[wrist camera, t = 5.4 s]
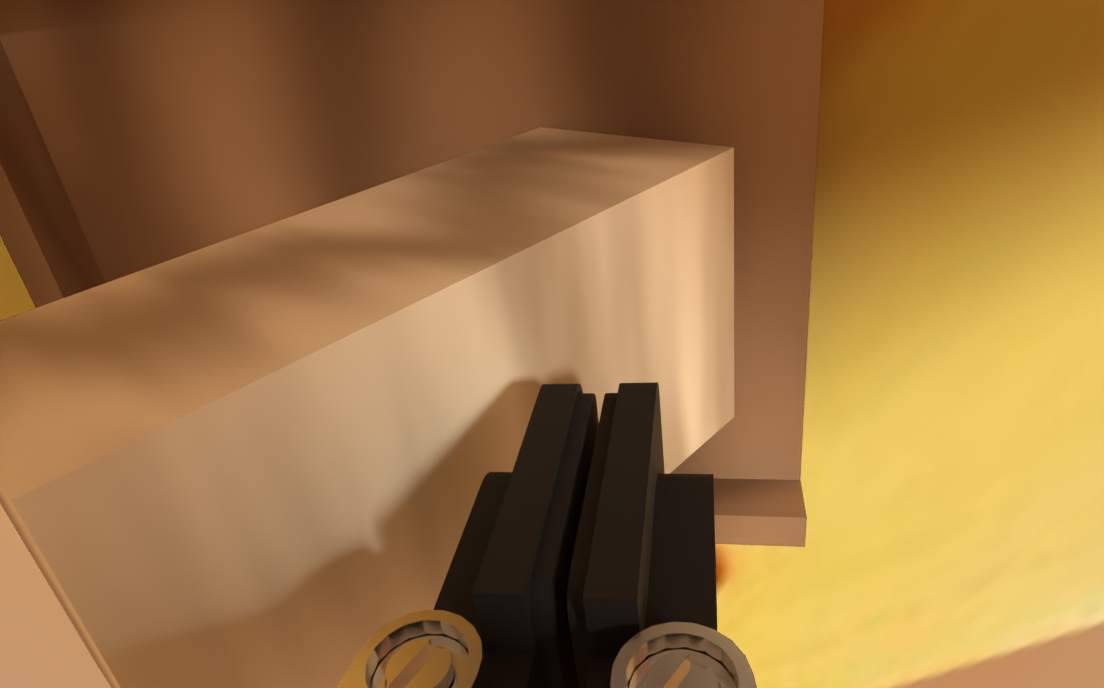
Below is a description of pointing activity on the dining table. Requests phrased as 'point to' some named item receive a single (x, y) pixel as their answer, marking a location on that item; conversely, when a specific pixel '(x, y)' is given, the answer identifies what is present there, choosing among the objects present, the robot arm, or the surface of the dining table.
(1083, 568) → the dining table surface
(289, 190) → the walnut tray
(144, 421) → the beech block
